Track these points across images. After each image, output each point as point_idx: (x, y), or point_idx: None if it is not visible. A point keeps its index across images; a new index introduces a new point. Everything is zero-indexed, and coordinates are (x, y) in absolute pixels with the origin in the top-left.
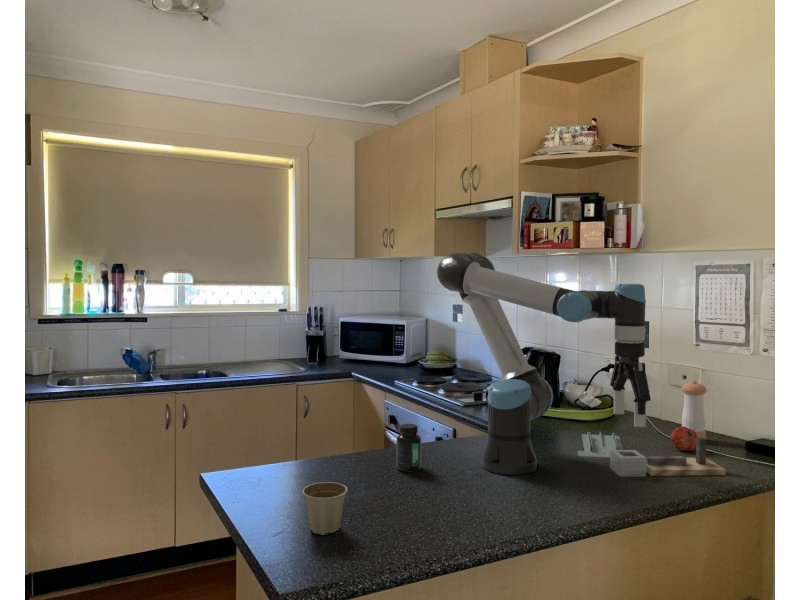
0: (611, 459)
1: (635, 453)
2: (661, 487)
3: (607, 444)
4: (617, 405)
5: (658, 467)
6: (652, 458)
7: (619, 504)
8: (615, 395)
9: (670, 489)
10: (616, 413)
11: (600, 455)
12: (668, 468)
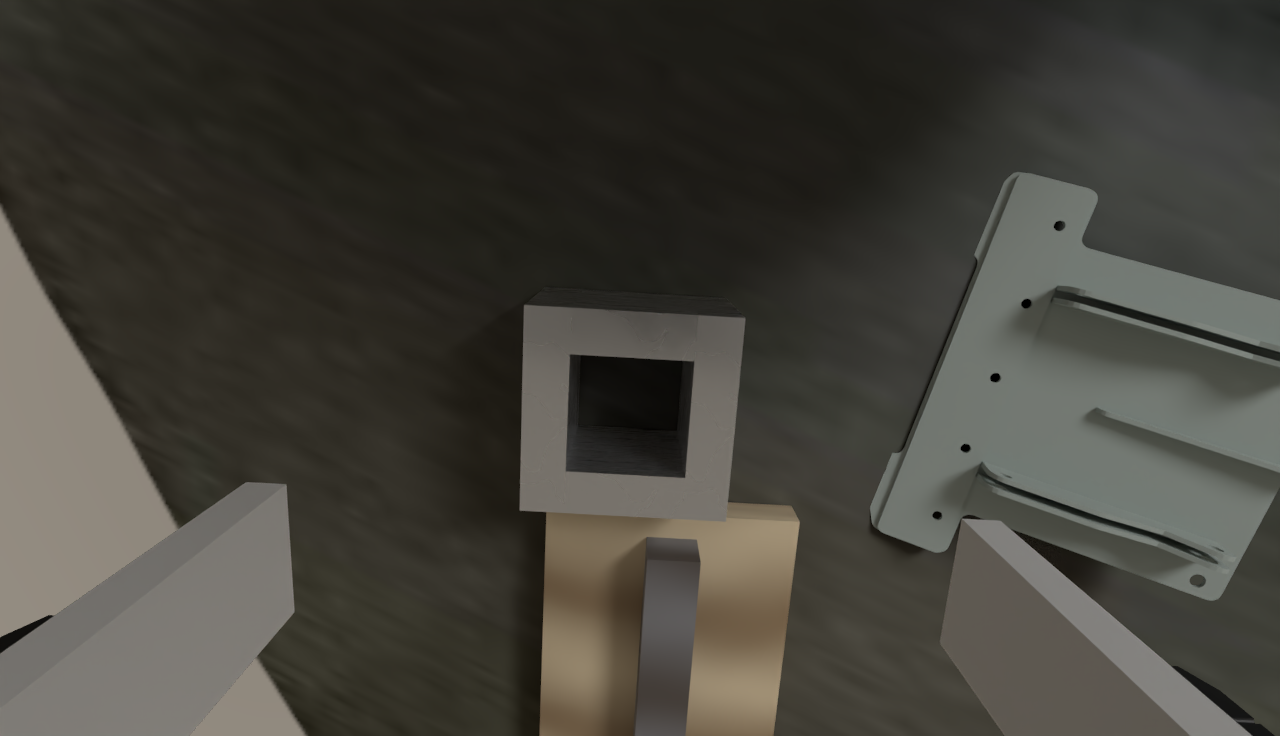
0: (706, 305)
1: (633, 479)
2: (349, 455)
3: (1117, 458)
4: (1022, 631)
5: (596, 578)
6: (647, 588)
7: (43, 51)
8: (1168, 733)
9: (316, 490)
10: (959, 547)
11: (974, 336)
12: (570, 626)
